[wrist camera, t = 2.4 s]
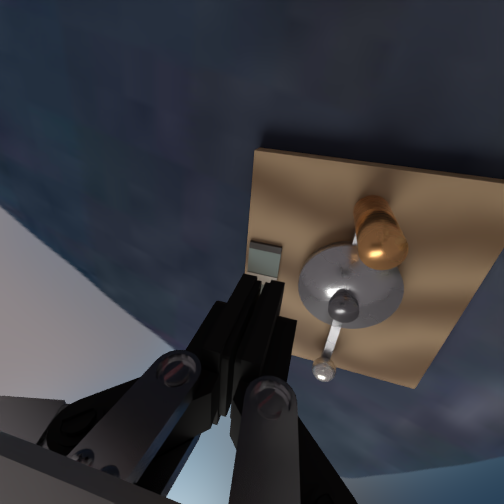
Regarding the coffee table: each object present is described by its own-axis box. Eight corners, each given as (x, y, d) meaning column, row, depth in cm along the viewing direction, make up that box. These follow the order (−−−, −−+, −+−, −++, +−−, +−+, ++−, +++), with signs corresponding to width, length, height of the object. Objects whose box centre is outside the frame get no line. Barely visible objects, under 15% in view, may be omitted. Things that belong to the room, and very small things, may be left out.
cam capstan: (362, 374, 27) (368, 438, 22) (283, 352, 28) (272, 407, 23) (439, 204, 18) (479, 245, 13) (318, 186, 20) (310, 216, 14)
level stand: (259, 147, 21) (253, 151, 20) (526, 182, 18) (544, 190, 16) (243, 330, 31) (238, 342, 30) (411, 375, 28) (415, 392, 26)
